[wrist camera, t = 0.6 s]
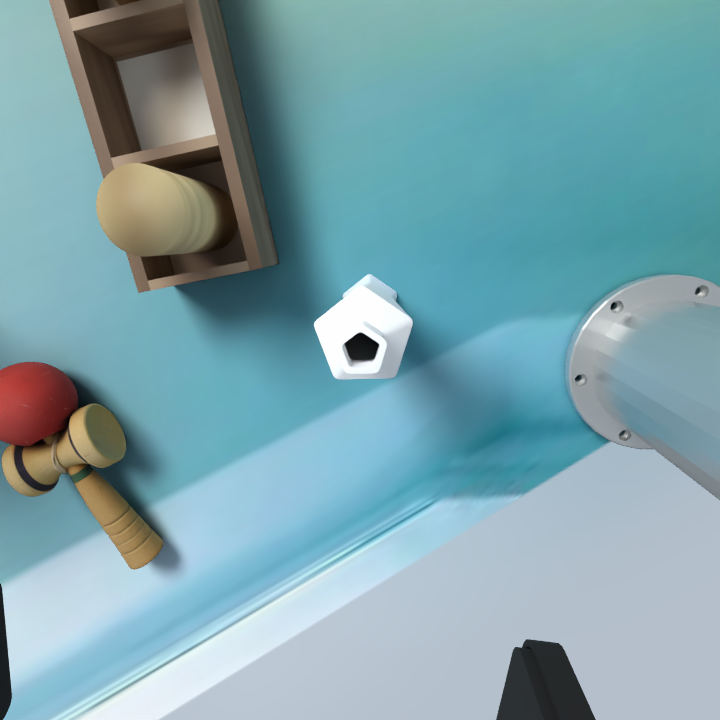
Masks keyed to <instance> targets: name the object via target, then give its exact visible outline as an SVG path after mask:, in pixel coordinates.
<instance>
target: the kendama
mask: <svg viewBox="0 0 720 720" xmlns="http://www.w3.org/2000/svg"><path fill="white" fill-rule="evenodd" d="M0 440H1V441H3V442H6V443H9V444H11V445H9V446H8V447H7V448H6V449H5V451H4V453H3V456H2V468H3V472H4V474H5V477H6V479H7V481H8V482H9V484H10V485H11V486H12V487H13V488H14V489H15V490H16V491H17V492H19V493H20V494H23V495H25V496H31V497H34V496H39V495H41V494H44V493H47V492H49V491H51V490H52V489H53V488H54V487H55V486H56V484H57V483H58V480H59V477H60V475H61V473H64V474H65V473H67V472H68V473H69V475H70V476H71V478H72V480H73V482H74V484H75V486H76V487H77V489H78V491H79V493H80V494H81V496H82V498H83V499H84V501H85V503H86V504H87V506H88V507H89V509H90V511H91V512H92V514H93V515H94V517H95V518H96V519H97V521H98V522H99V524H100V525H101V526H102V528H103V529H104V531H105V532H106V533H107V534H108V535H109V537H110V539H111V540H112V542H113V543H114V544H115V546H116V547H117V549H118V550H119V552H120V553H121V555H122V556H123V558H124V559H125V561H126V563H127V564H128V566H129V567H130V568H131V569H138V568H141V567H143V566H145V565H146V564H148V563H149V562H150V561H152V560H153V559H154V558H155V557H156V555H157V554H158V553H159V552H160V550H161V549H162V547H163V540H162V539H161V538H160V537H159V536H158V535H157V534H156V533H155V532H154V531H153V530H152V529H151V528H150V527H149V526H148V525H147V523H146V522H145V521H143V519H142V518H141V517H140V516H139V515H138V514H137V513H136V512H135V510H134V509H133V508H132V507H131V506H130V505H129V504H128V503H127V501H126V500H125V499H124V498H123V497H122V496H121V495H120V494H119V493H118V492H117V491H116V490H115V489H114V488H113V487H112V486H111V485H110V484H109V483H108V482H107V481H106V480H105V479H104V478H103V477H102V476H101V475H100V474H98V473H97V472H96V471H95V470H94V469H93V468H92V467H91V466H90V465H89V464H91V465H93V466H95V467H98V468H105V467H108V466H110V465H112V464H114V463H116V462H118V461H120V460H121V459H122V458H123V457H124V455H125V452H126V440H125V436H124V433H123V430H122V428H121V426H120V425H119V423H118V421H117V420H116V418H115V416H114V415H113V414H112V413H111V412H110V411H109V410H108V409H106V408H105V407H103V406H102V405H99V404H89V405H87V406H84V407H82V408H80V409H78V394H77V391H76V388H75V386H74V384H73V382H72V381H71V380H70V378H69V377H68V376H67V375H66V374H65V373H63V372H62V371H60V370H59V369H57V368H55V367H53V366H51V365H48V364H45V363H39V362H24V363H18V364H14V365H11V366H8V367H6V368H4V369H2V370H0Z"/></svg>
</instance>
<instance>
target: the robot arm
mask: <svg viewBox="0 0 720 720" xmlns="http://www.w3.org/2000/svg"><path fill="white" fill-rule="evenodd" d="M696 289H697V290H696ZM695 291H696V292H695ZM613 302H614V307H613V308H611V309H610V307H611V304H612V303H613ZM577 375H579V378H578V379H576V380H575V378H576V377H577ZM565 383H566V387H567V391H568V395H569V398H570V400H571V402H572V404H573V406H574V408H575V410H576V411H577V413H578V414H579V415H580V416H581V418H582V419H583V420H584V421H585V422H586V423H587V424H588V425H589V426H590V427H591V428H592V429H593V430H594V431H596V432H597V433H599V434H600V435H602V436H603V437H605V438H606V439H608V440H610V441H612V442H615V443H617V444H619V445H622V446H627V447H632V448H637V449H655V450H656V451H657V452H659V453H660V454H661V455H662V456H664V457H665V458H666V459H668V460H669V461H670V462H671V463H673V464H674V465H675V466H676V467H678V468H679V469H680V470H682V471H683V472H684V473H685V474H687V475H688V476H689V477H691V478H692V479H693V480H694V481H696V482H697V483H698V484H700V485H701V486H702V487H704V488H705V489H706V490H707V491H709V492H710V493H711V494H712V495H714V496H715V497H716V498H718V499H719V500H720V287H719V286H718V285H716V284H714V283H712V282H710V281H707V280H703V279H700V278H697V277H693V276H685V275H678V274H660V275H654V276H649V277H643V278H640V279H637V280H634V281H632V282H629V283H626V284H624V285H622V286H620V287H619V288H617V289H615V290H613V291H612V292H610V293H608V294H607V295H606V296H605V297H603V298H602V299H601V300H600V301H599V302H597V303H596V304H595V305H594V306H593V307H592V308H591V309H590V310H589V312H588V313H587V314H586V315H585V316H584V318H583V319H582V320H581V322H580V323H579V325H578V327H577V329H576V330H575V332H574V334H573V336H572V339H571V341H570V344H569V347H568V350H567V355H566V361H565ZM621 431H622V432H621ZM620 432H621V433H620ZM11 699H12V692H11V681H10V670H9V659H8V648H7V637H6V626H5V616H4V605H3V594H2V587H1V584H0V720H3V719H4V717H5V715H6V713H7V711H8V709H9V706H10V703H11ZM496 720H595V717H594V715H593V713H592V711H591V708H590V706H589V704H588V702H587V700H586V697H585V695H584V693H583V691H582V689H581V686H580V684H579V682H578V680H577V677H576V675H575V673H574V671H573V668H572V666H571V664H570V662H569V660H568V657H567V655H566V653H565V651H564V649H563V647H562V646H561V645H560V644H559V643H552V642H545V641H537V640H526V641H525V642H524V644H523V646H522V648H519V647H515V648H514V650H513V653H512V657H511V661H510V665H509V670H508V674H507V678H506V682H505V686H504V690H503V694H502V699H501V703H500V707H499V711H498V715H497V719H496Z"/></svg>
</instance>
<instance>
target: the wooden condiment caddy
mask: <svg viewBox="0 0 720 720" xmlns="http://www.w3.org/2000/svg"><path fill="white" fill-rule="evenodd" d="M49 2H50V5H51V8H52V11H53V15H54V18H55V21H56V24H57V28H58V31H59V34H60V38H61V41H62V44H63V47H64V51H65V54H66V57H67V60H68V64H69V67H70V70H71V74H72V77H73V80H74V83H75V87H76V90H77V93H78V96H79V100H80V103H81V106H82V110H83V113H84V116H85V119H86V123H87V126H88V129H89V132H90V136H91V139H92V142H93V145H94V149H95V152H96V155H97V159H98V162H99V165H100V168H101V172H102V175H103V178H104V180H103V182H102V183H101V185H100V188H99V190H98V194H97V201H96V208H97V215H98V219H99V222H100V225H101V227H102V229H103V231H104V232H105V234H106V235H107V237H108V238H109V239H110V240H111V241H112V242H113V243H114V244H115V245H116V246H117V247H119V248H120V249H122V250H123V251H125V252H126V253H127V257H128V260H129V263H130V267H131V270H132V273H133V276H134V280H135V283H136V286H137V289H138V293H140V292H145V291H150V290H155V289H160V288H165V287H170V286H175V285H180V284H185V283H190V282H195V281H200V280H205V279H210V278H215V277H220V276H225V275H230V274H235V273H240V272H245V271H250V270H255V269H260V268H265V267H269V266H273V265H277V264H279V260H278V255H277V251H276V247H275V242H274V238H273V234H272V229H271V225H270V221H269V216H268V212H267V208H266V203H265V199H264V195H263V190H262V186H261V182H260V177H259V173H258V169H257V164H256V160H255V156H254V151H253V147H252V143H251V138H250V134H249V130H248V125H247V121H246V117H245V112H244V108H243V104H242V99H241V95H240V91H239V86H238V82H237V78H236V73H235V69H234V65H233V60H232V56H231V52H230V47H229V43H228V39H227V34H226V30H225V26H224V21H223V17H222V13H221V8H220V4H219V0H49Z"/></svg>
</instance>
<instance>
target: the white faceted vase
mask: <svg viewBox="0 0 720 720" xmlns="http://www.w3.org/2000/svg"><path fill="white" fill-rule="evenodd" d="M396 298H397V292H396V291H394V290H393V289H391V288H390V287H389V286H387V285H386V284H384V283H383V282H381V281H380V280H378V279H377V278H375V277H374V276H373V275H370V274H369V275H367V276H365V277H364V278H363V279H361V280H360V281H359V282H358V283H356V284H355V285H354V286H353V287H351V288H350V289H349V290H347V291H346V292H345V293H344V294H343V300H341V301H340V302H339V303H338V304H336V305H335V306H334V307H332V308H331V309H330V310H329V311H327V312H326V313H325V314H324V315H322V316H321V317H320V318H318V319H317V320H316V321H315V323H314V327H315V330H316V333H317V335H318V338H319V340H320V343H321V345H322V348H323V351H324V353H325V356H326V358H327V361H328V363H329V366H330V368H331V371H332V374H333V376H334V377H335V378H336V379H380V378H394V377H395V376H396V374H397V372H398V369H399V366H400V363H401V360H402V357H403V353H404V350H405V347H406V344H407V341H408V338H409V335H410V332H411V328H412V325H413V321H412V319H411V318H410V317H409V316H408V315H407V313H406V312H405V311H404V310H403V309H402V308H401V307H400V306H399V305H398V303H397V302H396Z"/></svg>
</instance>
